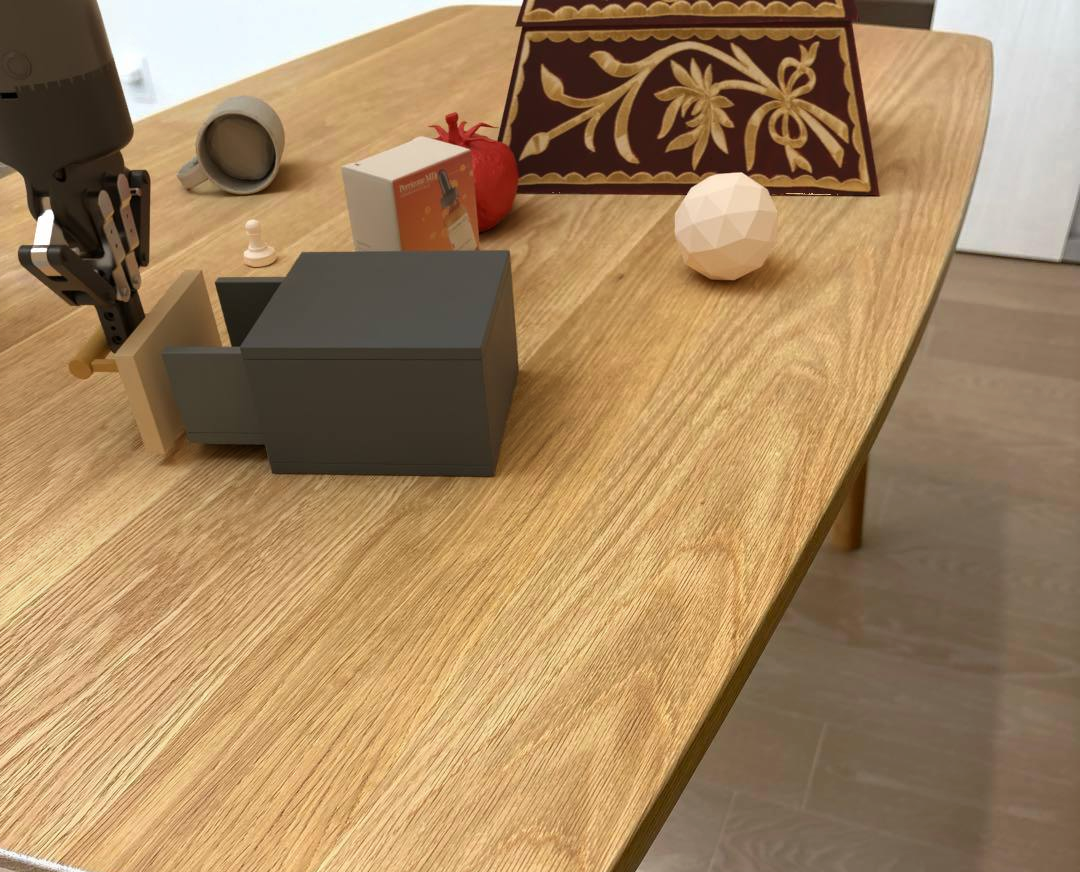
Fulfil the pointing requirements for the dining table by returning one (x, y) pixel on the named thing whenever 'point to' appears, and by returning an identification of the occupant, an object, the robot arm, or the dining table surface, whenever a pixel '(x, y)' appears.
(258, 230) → the chess pawn
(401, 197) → the small box
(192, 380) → the drawer
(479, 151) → the pomegranate
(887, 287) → the dining table surface
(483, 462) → the cabinet
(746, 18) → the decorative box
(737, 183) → the geometric ball
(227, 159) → the ceramic mug
